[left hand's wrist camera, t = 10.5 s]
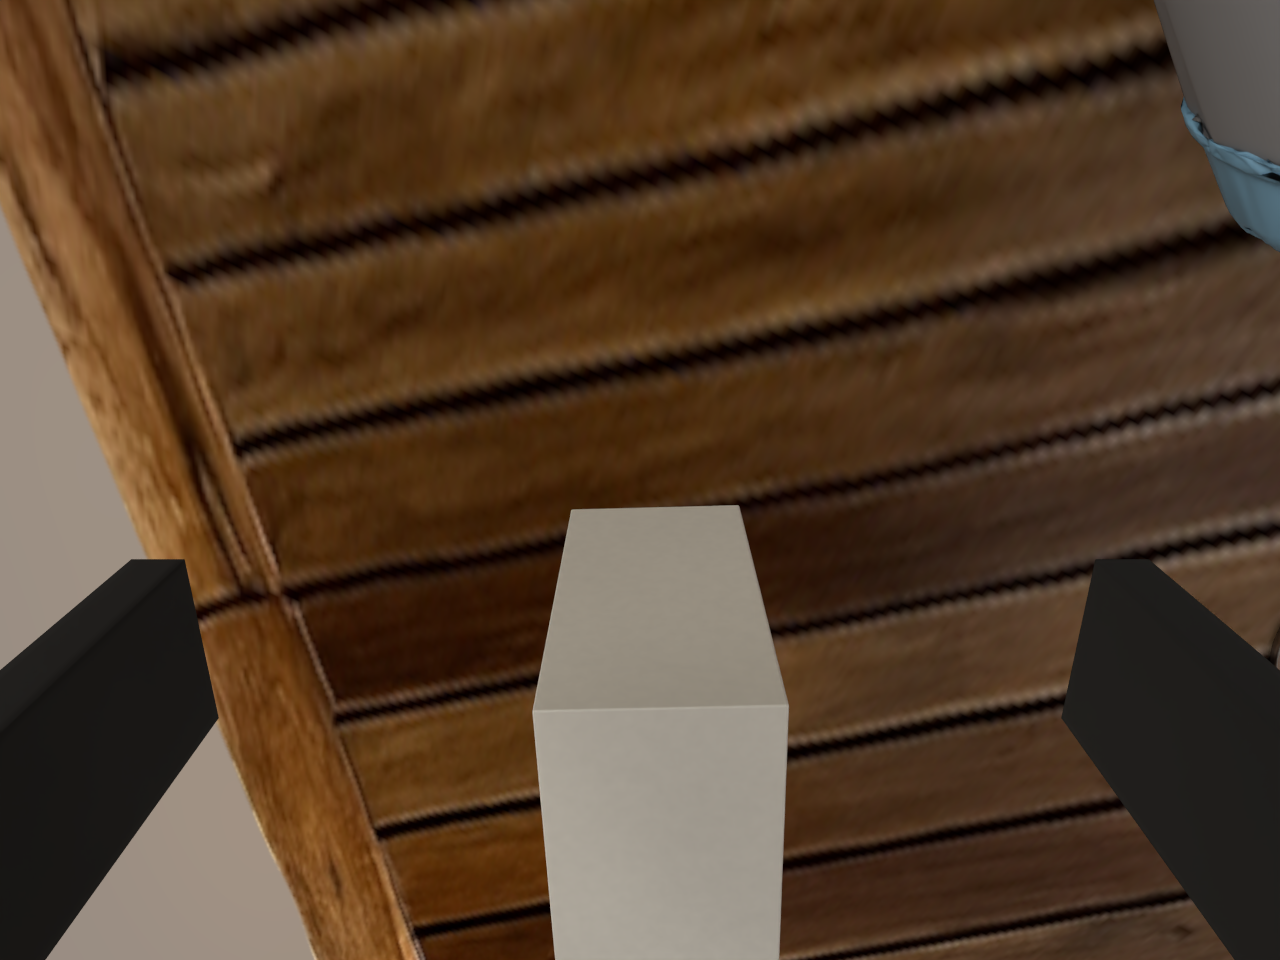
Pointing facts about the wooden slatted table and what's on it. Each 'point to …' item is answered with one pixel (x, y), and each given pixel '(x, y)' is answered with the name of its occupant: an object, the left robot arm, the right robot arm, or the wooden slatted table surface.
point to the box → (661, 741)
